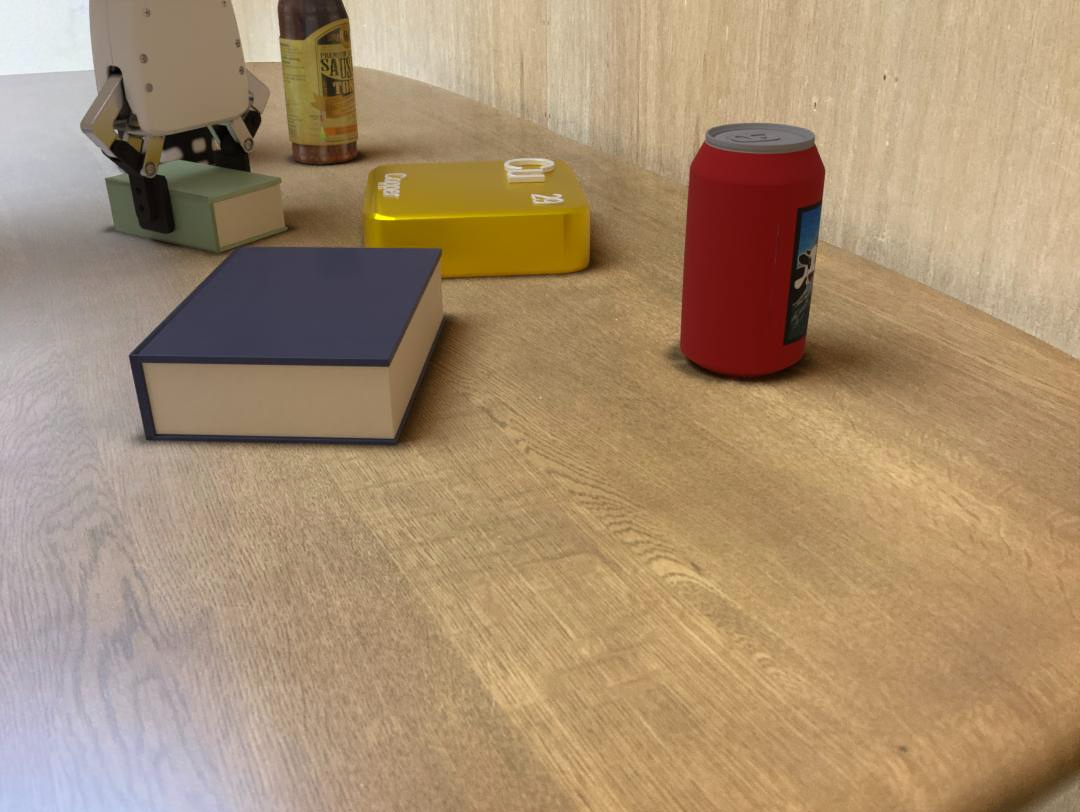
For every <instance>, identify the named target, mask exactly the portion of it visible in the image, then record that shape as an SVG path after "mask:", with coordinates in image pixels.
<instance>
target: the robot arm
mask: <svg viewBox="0 0 1080 812" xmlns="http://www.w3.org/2000/svg"><path fill="white" fill-rule="evenodd" d="M88 16H89V17H88V18H89V33H90V34H89V35H90V45H91V55H92V64H93V70H94V71H93V72H94V79H95V85H96V91H97V96H96V97H95V99H94V100H93V102H92V104H91V105H90V107H89V108H88V110H87V111H86V112H85V114H84V116H83V117H82V119H81V121H80V123H79V128H80V130H81V132H82V134H84V135H85V136H86V137H87V138H88V139H89V140H90V141H91V142H92V143H93V144H94V145H95V146H96V147H97V148H99V149H100V151H101V153H102V154H103V155H104V156H105V157H106V158H108V160H109V161H111V162H112V163H113V164H115V165H116V166H117V168H118V170H119V172H120V173H121V174H124V173H126V174H128V176H129V181H130V186H131V191H132V197H133V202H134V207H135V212H136V216H137V218H138V221H139V225H140V227H141V228H142V229H146V230H150V231H155V232H159V233H164V234H168V233H172V232H173V231H174V229H175V224H174V218H173V212H172V207H171V201H170V195H169V189H168V183H167V179H166V178H165V176H163V175H158V174H157V172H158V167H159V163H160V158H161V153H162V148H163V144H164V139H165V135H170V134H175V133H179V132H184V131H189V130H193V129H198V128H202V127H206V126H207V127H208V128H209V130H210V132H211V133H212V135H213V137H214V138H215V143H216V144H217V145H218V147H219V149H216V150H214V166H217V167H223V168H228V169H234V170H240V171H246V172H251V173H252V170H251V164H250V163H251V162H250V156H249V154H250V153H253V151H254V150H255V148H256V144H255V136H256V135H257V132H258V131H259V128H260V127H261V124H262V115H263V113H264V111H265V110H266V109H265V108H266V107H267V104H268V101H269V99H270V96H271V91H270V88H269V87H268V85H266V84H265V83H264V82H263V81H261V80H260V79H259V78H258V77H257V76H256V75H254V73H253V72H251V71H250V70H249V69H248V68H247V66H246V61H245V55H244V50H243V44H242V40H241V35H240V31H239V26H238V22H237V17H236V13H235V9H234V5H233V1H232V0H88ZM117 130H120V131H124V135H123V140H122V139H121V138H120V137H119V136H118V132H116V131H117ZM143 139H144V144H143V149H142V153H140V149H141V145H142V140H143Z"/></svg>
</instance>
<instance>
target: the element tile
mask: <svg viewBox="0 0 1080 812" xmlns="http://www.w3.org/2000/svg"><path fill="white" fill-rule="evenodd" d="M365 187H366V188H365V192H364V193H365V194H364V201H363V205H362V210H361V219H362V220H361V221H362V231H363V232H362V233H363V244H364V248H441V249H442V256H441V258H440V266H441V279H455V278H456V279H457V278H481V277H482V278H483V277H486V278H487V277H507V276H509V277H511V276H535V275H537V276H539V275H559V274H562V275H563V274H571V273H576V272H580V271H582V270H586V269H587V267H588V266H589V264H590V257H591V256H590V255H591V204H590V202H589V200H588V198H587V196H586V193H585V191H584V189H583V188H582V186H581V184H580V182H579V179H578V178H577V175H576V173H575V172H574V169H573V168H572V166H571V165H569V164H568V163H566V162H565V161H564V160H561V159H555V158H552V159H551V158H540V157H521V158H515V159H514V158H513V159H509V160H480V161H479V160H477V161H449V162H448V161H444V162H417V163H416V162H415V163H414V162H413V163H411V162H410V163H386V164H380V165H377V166H376V167H374V168H373V169H371V170H370V171H369V172H368V174H367V181H366V186H365Z"/></svg>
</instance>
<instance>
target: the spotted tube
mask: <svg viewBox="0 0 1080 812" xmlns="http://www.w3.org/2000/svg"><path fill="white" fill-rule="evenodd" d="M116 131H117V134H118V136H119V137H120V138H121V139H122V140H123V135H124V131H120V130H116ZM143 144H144V139H143V140H142V145H141V149H140V153H142V149H143ZM216 144H217V142H216V140H215V138H214V137H213V135H212V133H211V132H210V130H209V128H208V127H207V126H206V127H202V128H198V129H193V130H189V131H184V132H179V133H175V134H170V135H165V139H164V144H163V148H162V153H161V158H160V163H159V165H161V164H165V163H169V162H173V161H177V160H183V161H188V162H194V163H200V164H206V165H211V166H212V165H215V163H214V150H217V145H216Z"/></svg>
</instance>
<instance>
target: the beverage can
mask: <svg viewBox="0 0 1080 812" xmlns="http://www.w3.org/2000/svg"><path fill="white" fill-rule="evenodd" d="M704 138H705V139H704V140H703V142H702V144H701V145H700V147H699V149H698V151H697V153H696V154H695V156H694V158H693V159H692V161H691V162H690V166H689V175H688V186H687V187H688V188H687V189H688V190H687V201H686V202H687V203H686V218H685V222H686V223H685V236H684V237H685V238H684V250H683V251H684V252H683V256H684V257H683V270H682V271H683V273H682V292H681V311H680V312H681V313H680V316H681V317H680V335H679V337H680V338H679V347H680V350H681V351H680V352H681V353H682V354H683V355H684V356H685V357H686V358H687V359H689V360H690V361H692V362H693V363H695V364H696V365H698V366H700V367H701V368H703V369H705V370H707V371H709V372H712V373H714V374H715V373H716V374H719V375H723V376H729V377H730V376H731V377H739V378H743V377H744V378H752V377H753V378H755V377H763V376H769V375H773V374H776V373H779V372H781V371H783V370H785V369H787V368H789V367H791V366H793V365H795V364H796V363H798V362H799V361H800V360H801V359H802V358H803V356H804V355H805V351H806V350H805V349H806V342H807V341H806V340H807V336H808V335H807V334H808V326H809V319H810V312H811V302H812V296H813V289H814V287H813V286H814V279H815V272H816V264H817V263H816V262H817V254H818V245H819V244H818V243H819V237H820V226H821V217H822V208H823V200H824V189H825V182H826V181H825V180H826V167H825V164H824V162H823V160H822V157H821V155H820V152H819V149H818V147H817V145H816V143H815V141H816V134H815V133H814V132H813V131H812V130H810V129H807V128H804V127H800V126H796V125H790V124H784V123H771V122H738V123H737V122H736V123H727V124H722V125H716V126H713V127H710V128H708V129H707V130H706V132H705V136H704Z"/></svg>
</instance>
